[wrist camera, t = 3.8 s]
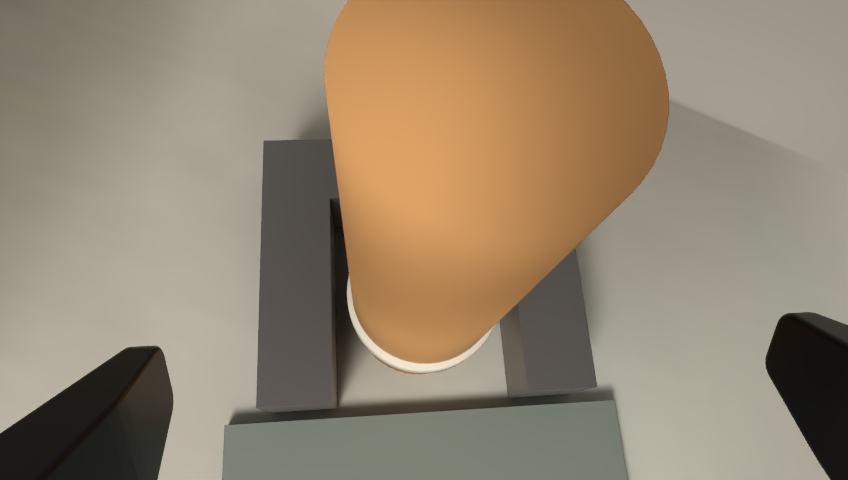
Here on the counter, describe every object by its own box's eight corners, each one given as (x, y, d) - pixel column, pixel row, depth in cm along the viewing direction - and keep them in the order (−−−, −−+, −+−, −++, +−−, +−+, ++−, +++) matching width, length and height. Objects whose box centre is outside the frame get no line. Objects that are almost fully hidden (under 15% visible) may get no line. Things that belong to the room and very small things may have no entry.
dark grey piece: (568, 393, 19) (597, 386, 16) (271, 412, 18) (256, 407, 15) (536, 169, 21) (557, 136, 19) (276, 175, 20) (263, 140, 18)
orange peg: (491, 374, 19) (718, 244, 6) (351, 382, 18) (311, 258, 6) (478, 242, 20) (643, -66, 8) (348, 247, 20) (311, -73, 8)
